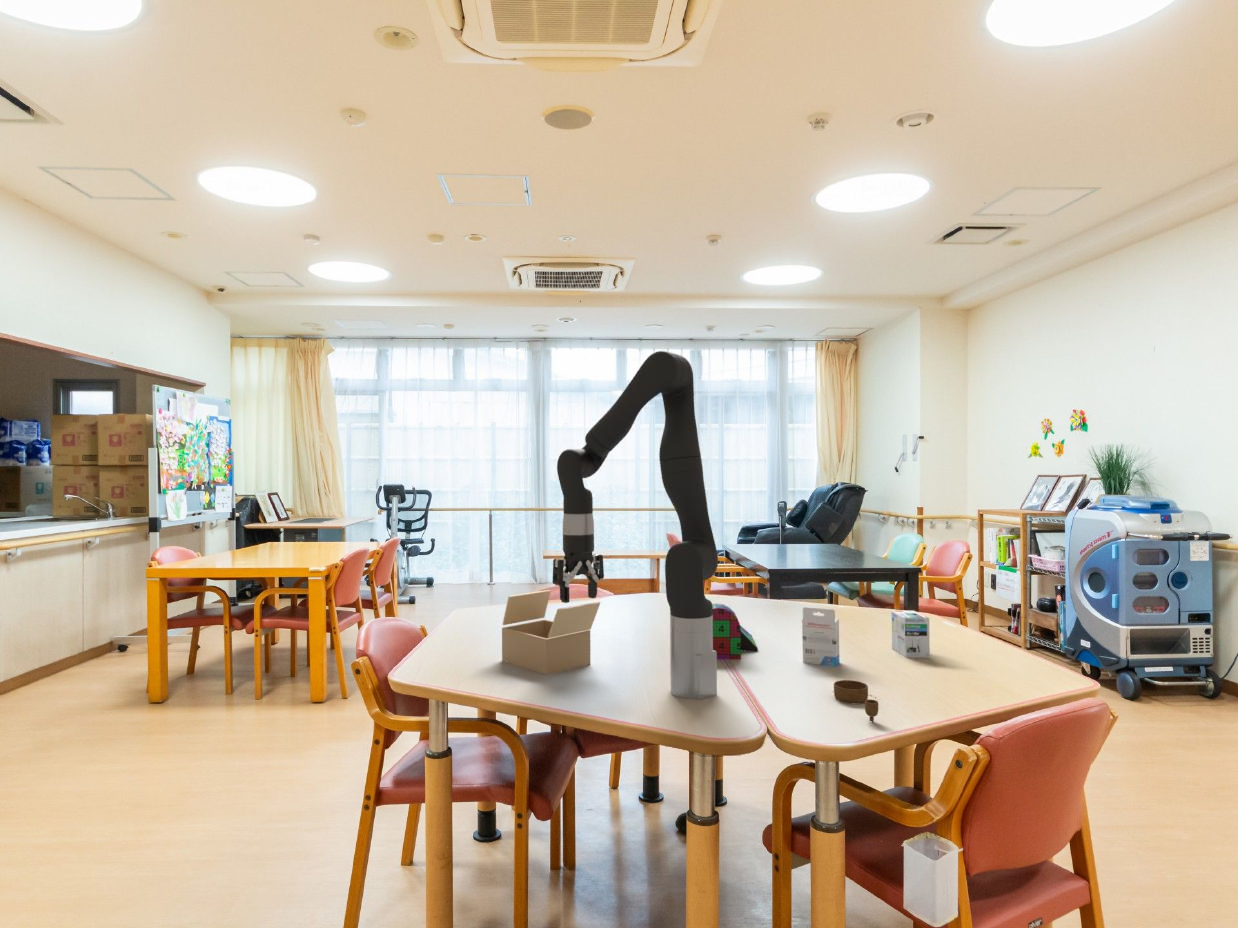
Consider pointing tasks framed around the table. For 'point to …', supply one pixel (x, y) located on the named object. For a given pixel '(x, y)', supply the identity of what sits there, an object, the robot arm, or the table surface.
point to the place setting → (855, 695)
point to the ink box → (820, 637)
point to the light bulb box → (910, 634)
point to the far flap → (526, 607)
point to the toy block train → (729, 634)
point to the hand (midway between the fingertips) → (579, 599)
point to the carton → (544, 647)
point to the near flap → (573, 619)
